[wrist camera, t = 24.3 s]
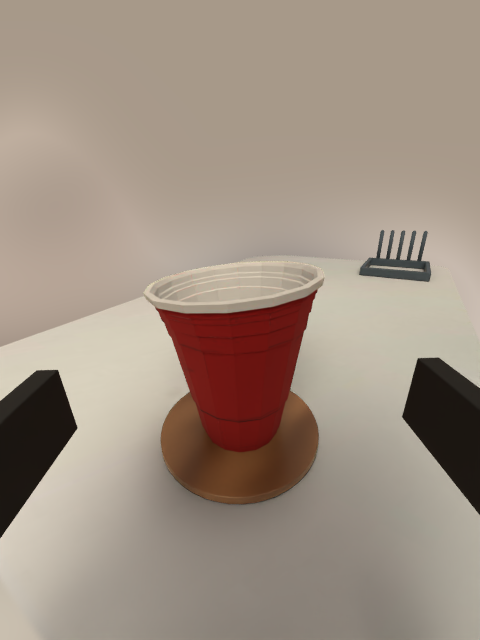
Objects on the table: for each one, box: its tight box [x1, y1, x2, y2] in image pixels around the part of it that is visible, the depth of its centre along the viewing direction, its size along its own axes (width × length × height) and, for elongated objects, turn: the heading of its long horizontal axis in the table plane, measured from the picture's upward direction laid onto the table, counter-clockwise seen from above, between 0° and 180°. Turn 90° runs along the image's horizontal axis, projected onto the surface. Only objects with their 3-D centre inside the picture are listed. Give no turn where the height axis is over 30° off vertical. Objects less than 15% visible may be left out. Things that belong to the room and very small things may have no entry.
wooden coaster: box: [161, 391, 319, 504], centre depth 21 cm, size 12×12×1 cm
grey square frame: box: [359, 230, 431, 281], centre depth 66 cm, size 14×14×9 cm
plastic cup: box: [143, 261, 324, 452], centre depth 19 cm, size 11×11×12 cm
